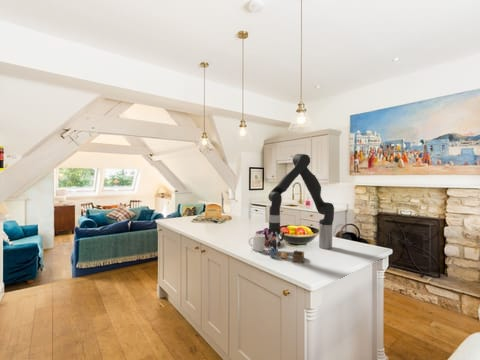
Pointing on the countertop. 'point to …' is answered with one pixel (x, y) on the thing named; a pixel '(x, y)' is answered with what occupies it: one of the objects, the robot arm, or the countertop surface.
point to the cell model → (267, 235)
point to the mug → (258, 242)
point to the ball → (283, 255)
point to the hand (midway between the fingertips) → (274, 246)
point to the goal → (298, 256)
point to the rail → (281, 252)
